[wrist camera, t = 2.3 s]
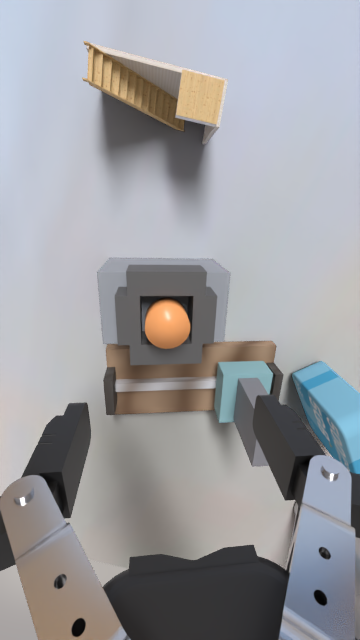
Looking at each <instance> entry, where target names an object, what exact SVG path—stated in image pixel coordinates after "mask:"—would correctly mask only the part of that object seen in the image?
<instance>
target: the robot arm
mask: <svg viewBox="0 0 360 640" xmlns="http://www.w3.org/2000/svg"><path fill="white" fill-rule="evenodd" d="M253 430H254V434H255V436H256V438H257V441H258V443H259V445H260V447H261V449H262V451H263V454H264V456H265V458H266V460H267V462H268V464H269V467H270V469H271V471H272V473H273V475H274V477H275V479H276V482H277V484H278V486H279V488H280V490H281V492H282V495H283V497H284V499H285V500H296V503H295V506H294V514H295V516H296V518H295V523H294V528H293V533H292V538H291V543H290V548H289V553H288V557H287V562H286V566H285V569H284V568H282V567H281V566H279V565H278V564H276V563H274V562H272V561H270V560H267V559H265V558H262V557H258V556H257V554H256V551H255V548H254V545H247V546H237V547H227V548H223V549H220V550H218V551H216V552H213V553H211V554H209V555H207V556H204V557H202V558H200V559H198V560H187V559H183V558H178V557H173V556H168V555H163V554H157V555H147V556H138V557H130V563H129V569H128V570H126V571H123V572H122V573H120V574H118V575H116V576H115V577H114V578H112V579H111V580H110V581H108V582H107V583H106V584H105V585H104V586H103V587H102V586H101V584H100V582H99V580H98V578H97V576H96V574H95V572H94V570H93V568H92V566H91V564H90V562H89V560H88V558H87V556H86V554H85V552H84V550H83V548H82V546H81V544H80V542H79V540H78V538H77V536H76V534H75V532H74V530H73V528H72V526H71V525H70V523H66V522H65V520H64V518H71V514H72V510H73V506H74V503H75V499H76V495H77V491H78V487H79V483H80V479H81V476H82V472H83V468H84V464H85V460H86V456H87V453H88V449H89V445H90V439H91V427H90V419H89V411H88V405H87V403H69V404H68V406H67V409H66V411H65V413H64V415H63V416H55V417H54V418H53V419H52V420H51V421H50V422H49V423H48V424H47V425H46V427H45V430H44V432H43V434H42V437H41V438H40V440H39V442H38V445H37V446H36V448H35V450H34V452H33V454H32V456H31V459H30V461H29V463H28V465H27V467H26V469H25V471H24V473H23V475H22V477H21V478H20V479H18V480H16V481H15V482H13V483H12V484H11V485H9V486H8V487H7V488H6V490H5V491H4V492H3V494H2V496H0V571H1V570H4V569H6V568H8V567H10V566H13V565H15V564H16V566H17V570H18V573H19V576H20V580H21V583H22V587H23V590H24V593H25V597H26V600H27V603H28V607H29V610H30V613H31V617H32V620H33V624H34V627H35V630H36V633H37V637H38V640H360V474H356V473H352V472H349V471H348V469H347V468H346V467H345V466H344V465H343V464H342V463H341V462H339V461H338V460H336V459H334V458H332V457H329V456H326V455H325V453H324V452H323V450H322V449H321V448H320V446H319V445H318V443H317V442H316V441H315V439H314V438H313V436H312V435H311V434H310V432H309V431H308V430H307V429H306V427H305V425H304V424H303V422H301V420H300V418H299V417H298V415H297V414H296V413H295V412H294V411H293V410H292V409H290V408H289V407H288V406H286V405H281V404H280V403H279V401H278V400H277V398H276V397H275V396H274V395H258V396H257V397H256V402H255V408H254V415H253Z"/></svg>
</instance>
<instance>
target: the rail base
mask: <svg viewBox="0 0 360 640" xmlns="http://www.w3.org/2000/svg"><path fill="white" fill-rule="evenodd" d="M275 351H276V345H275V344H274V343H273V342H272V341H244V342H214V343H211V344H203V346H202V362H201V363H197V364H161V365H130V346H129V345H118V344H108V345H107V348H106V358H107V370H106V373H105V377H104V392H105V403H106V414H107V415H115V414H136V413H159V412H181V411H203V410H215V408H214V402H215V391H216V379H217V368H218V362H240V361H264V362H265V363H266V365H267V366H268V367H269V369H270V370H271V371H272V373H273V377H272V383H271V389H270V394H269V395H274V396H275V397H276V398H277V400H278V401H279V395H280V390H281V385H282V379H283V374H282V372H281V371H280V370H279V369H278V367H277V366H276V365H275V364H274V357H275Z"/></svg>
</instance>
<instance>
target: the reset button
mask: <svg viewBox="0 0 360 640" xmlns="http://www.w3.org/2000/svg"><path fill="white" fill-rule="evenodd" d="M145 333H146V336H147V338H148V340H149V341H150V342H151V343H152V344H153V345H155V346H157V347H159V348H163V349H171V348H175V347H177V346H179V345H181V344H182V343H183V342H184V341H185V340H186V339H187V337H188V335H189V333H190V322H189V319H188V316H187V313H186V310H185V308H184V307H183V305H182V304H181V303H180V302H178V301H177V300H175V299H172V298H161V299H158V300H156V301H154V302H153V303H152V304H151V305H150V306H149V307H148V309H147V312H146V317H145Z"/></svg>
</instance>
